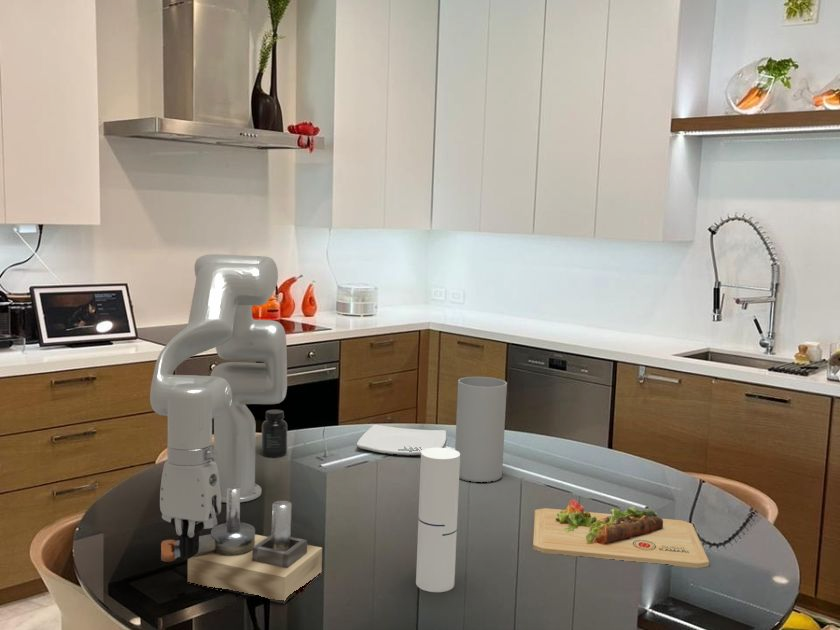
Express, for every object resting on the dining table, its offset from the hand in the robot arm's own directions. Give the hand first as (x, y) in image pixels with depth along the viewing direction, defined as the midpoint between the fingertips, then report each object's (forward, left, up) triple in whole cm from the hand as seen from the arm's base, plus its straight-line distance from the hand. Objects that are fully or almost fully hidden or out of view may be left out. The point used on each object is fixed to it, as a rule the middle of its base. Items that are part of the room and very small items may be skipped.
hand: (189, 555), depth 150 cm
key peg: (+13, +9, -1) cm, 16 cm away
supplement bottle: (-28, +77, -7) cm, 82 cm away
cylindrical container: (+39, +21, -7) cm, 45 cm away
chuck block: (+8, +9, -7) cm, 14 cm away
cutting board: (+67, +59, -7) cm, 89 cm away
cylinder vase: (+28, +85, -7) cm, 90 cm away
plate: (0, +102, -7) cm, 103 cm away
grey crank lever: (0, +5, -1) cm, 6 cm away
